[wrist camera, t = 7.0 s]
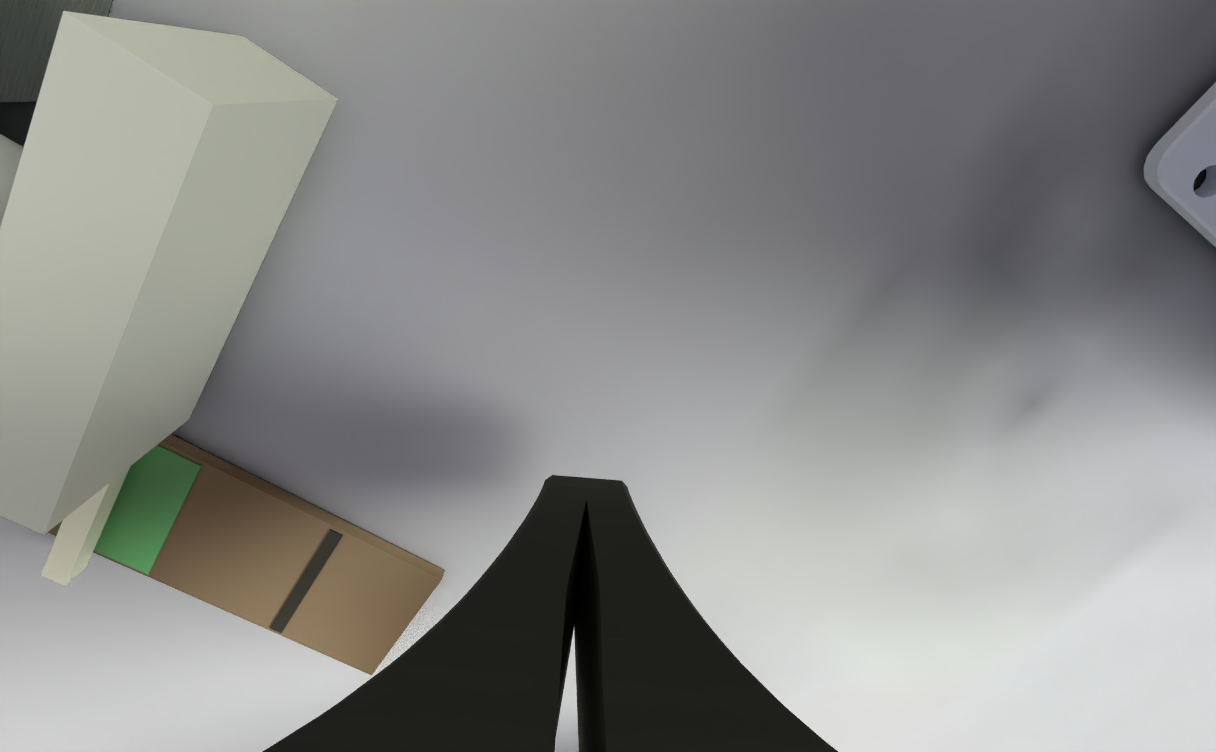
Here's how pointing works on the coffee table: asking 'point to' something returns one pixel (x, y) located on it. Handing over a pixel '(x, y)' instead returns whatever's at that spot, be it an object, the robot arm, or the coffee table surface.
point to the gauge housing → (30, 55)
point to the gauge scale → (264, 554)
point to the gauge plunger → (131, 252)
